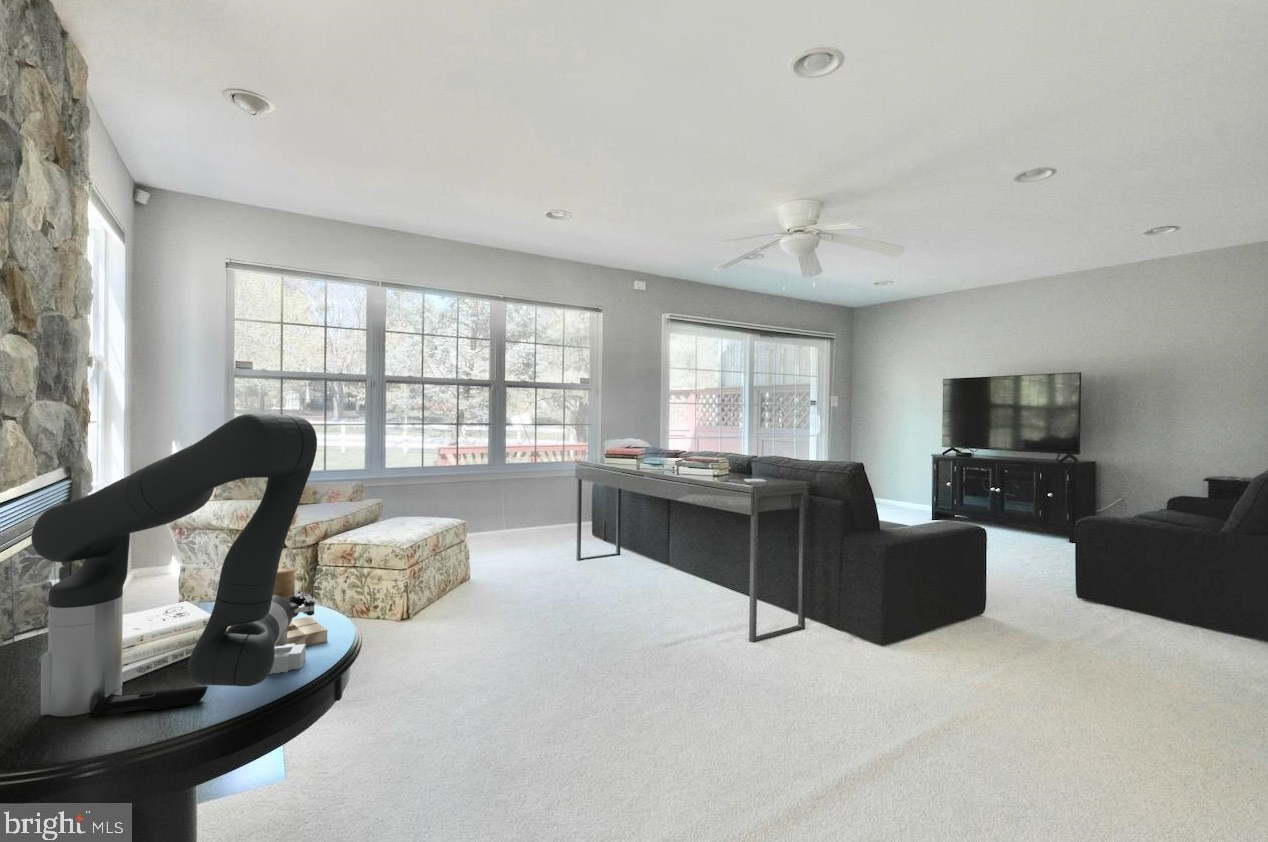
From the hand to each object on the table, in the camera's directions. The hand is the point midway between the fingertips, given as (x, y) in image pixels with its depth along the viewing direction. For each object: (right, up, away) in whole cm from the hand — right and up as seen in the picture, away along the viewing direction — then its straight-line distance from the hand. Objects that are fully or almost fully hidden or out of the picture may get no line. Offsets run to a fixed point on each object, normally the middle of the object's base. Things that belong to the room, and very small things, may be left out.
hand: (285, 595), depth 123 cm
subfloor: (-8, -13, +8) cm, 17 cm away
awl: (+1, -9, -3) cm, 9 cm away
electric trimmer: (-11, -13, -20) cm, 26 cm away
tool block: (+1, -13, -3) cm, 13 cm away
